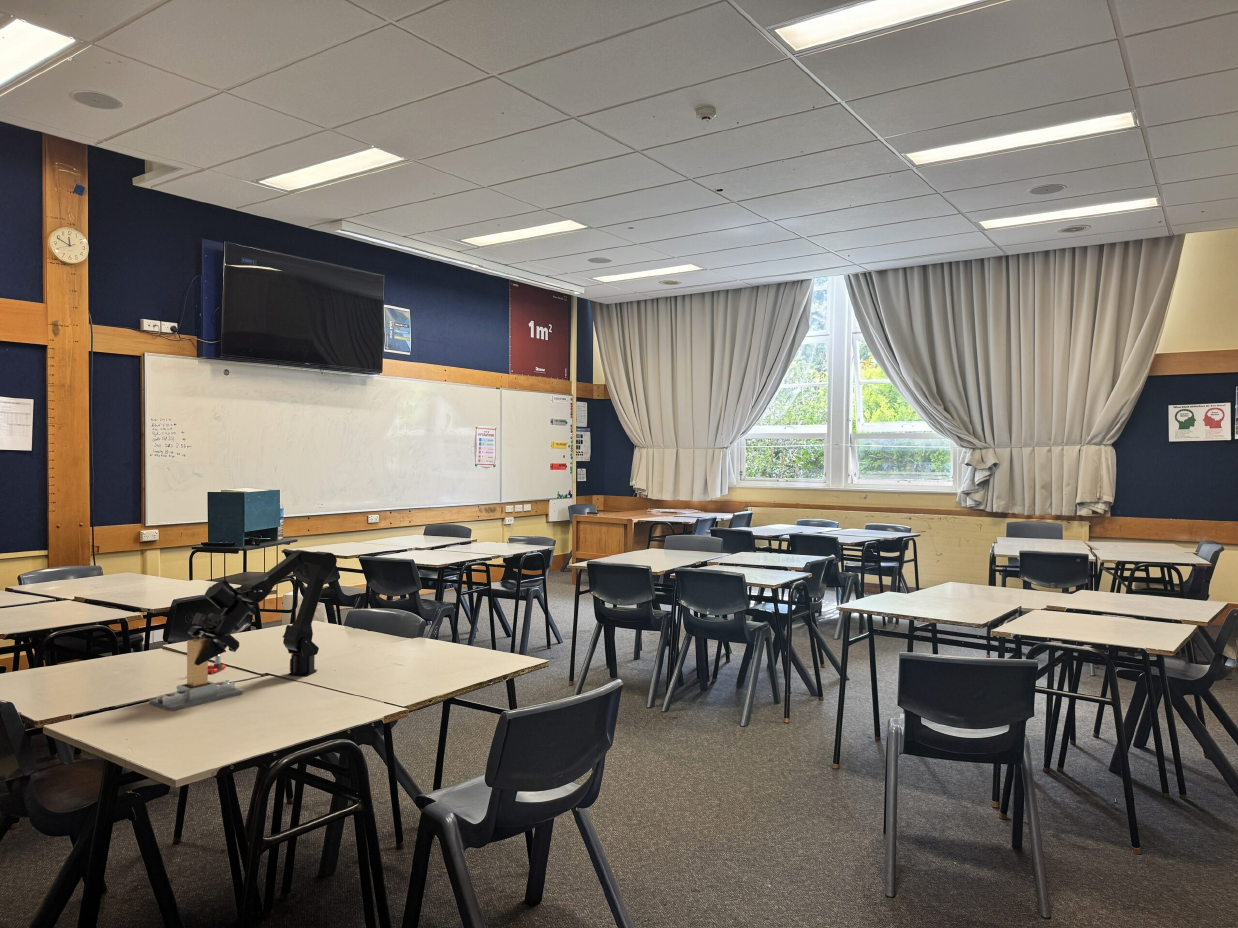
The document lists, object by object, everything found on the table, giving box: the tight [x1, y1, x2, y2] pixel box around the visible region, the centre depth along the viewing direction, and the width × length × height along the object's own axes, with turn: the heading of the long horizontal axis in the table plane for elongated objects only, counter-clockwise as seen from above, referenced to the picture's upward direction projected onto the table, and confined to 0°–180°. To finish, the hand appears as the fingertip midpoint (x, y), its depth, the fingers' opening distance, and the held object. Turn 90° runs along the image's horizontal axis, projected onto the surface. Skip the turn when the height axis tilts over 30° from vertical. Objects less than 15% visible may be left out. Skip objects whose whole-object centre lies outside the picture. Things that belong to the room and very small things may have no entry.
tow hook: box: [208, 654, 227, 675], centre depth 254 cm, size 8×13×9 cm
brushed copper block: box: [186, 638, 209, 688], centre depth 224 cm, size 4×4×13 cm
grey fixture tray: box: [148, 679, 244, 712], centre depth 223 cm, size 20×12×4 cm, turn 146°
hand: (192, 663), depth 222 cm, fingers closed on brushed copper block, 3 cm apart
